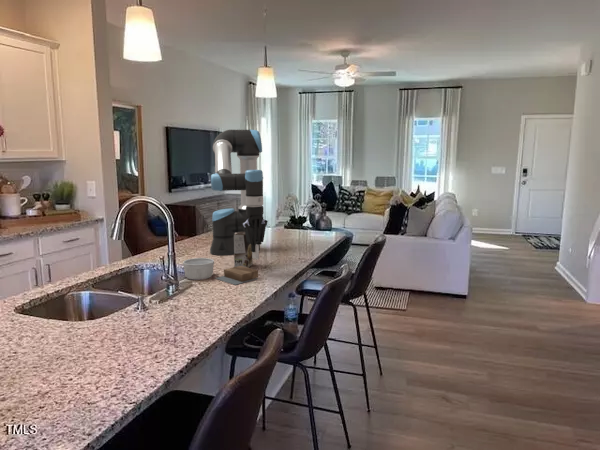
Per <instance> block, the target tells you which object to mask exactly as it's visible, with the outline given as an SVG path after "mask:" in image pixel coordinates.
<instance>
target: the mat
mask: <svg viewBox="0 0 600 450" xmlns="http://www.w3.org/2000/svg"><path fill="white" fill-rule="evenodd" d="M214 279H215V280H218V281H222V282H224V283H227V284H231V285H234V286H238V285H241V284H245V283H249V282H252V281H256V280H258V279H259V277H258V278H254V279H250V280H247V281H243V282H241V281H238V280H234V279H231V278H228V277H225V276H224V275H222V276H217V277H214Z"/></svg>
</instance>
